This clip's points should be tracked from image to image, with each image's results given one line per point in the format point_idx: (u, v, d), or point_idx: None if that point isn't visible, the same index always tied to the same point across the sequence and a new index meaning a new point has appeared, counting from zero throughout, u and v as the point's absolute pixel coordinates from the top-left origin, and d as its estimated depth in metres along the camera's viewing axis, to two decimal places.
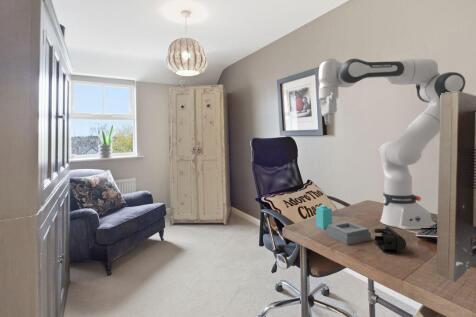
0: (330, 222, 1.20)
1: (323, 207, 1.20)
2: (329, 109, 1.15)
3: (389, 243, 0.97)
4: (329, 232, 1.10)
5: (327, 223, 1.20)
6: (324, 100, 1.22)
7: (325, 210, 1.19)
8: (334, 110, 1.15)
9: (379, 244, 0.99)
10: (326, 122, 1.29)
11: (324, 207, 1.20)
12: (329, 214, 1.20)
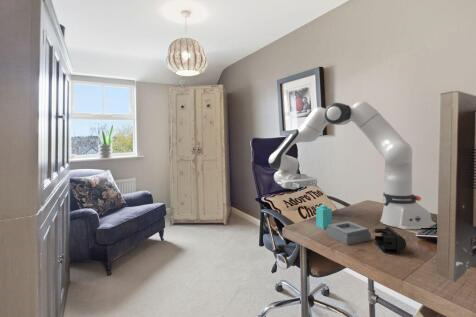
0: (330, 222, 1.20)
1: (323, 207, 1.20)
2: (284, 187, 1.34)
3: (389, 243, 0.97)
4: (329, 232, 1.10)
5: (327, 223, 1.20)
6: None
7: (325, 210, 1.19)
8: (285, 183, 1.34)
9: (379, 244, 0.99)
10: (312, 185, 1.35)
11: (324, 207, 1.20)
12: (329, 214, 1.20)
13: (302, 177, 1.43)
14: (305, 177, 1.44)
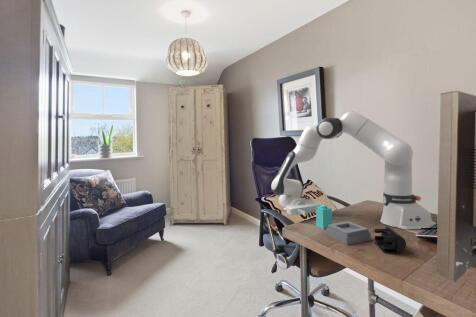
0: (330, 222, 1.20)
1: (323, 207, 1.20)
2: (289, 214, 1.32)
3: (389, 243, 0.97)
4: (329, 232, 1.10)
5: (327, 223, 1.20)
6: None
7: (325, 210, 1.19)
8: (290, 210, 1.31)
9: (379, 244, 0.99)
10: None
11: (324, 207, 1.20)
12: (329, 214, 1.20)
13: (308, 202, 1.41)
14: (311, 202, 1.41)
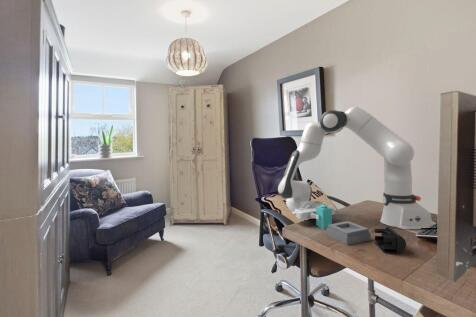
0: (330, 222, 1.20)
1: (323, 207, 1.20)
2: (299, 218, 1.23)
3: (389, 243, 0.97)
4: (329, 232, 1.10)
5: (327, 223, 1.20)
6: None
7: (325, 210, 1.19)
8: (300, 214, 1.23)
9: (379, 244, 0.99)
10: None
11: (324, 207, 1.20)
12: (329, 214, 1.20)
13: (318, 205, 1.32)
14: None
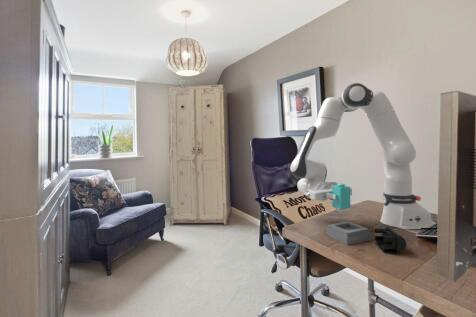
0: (348, 202, 1.09)
1: (340, 186, 1.09)
2: (314, 199, 1.12)
3: (389, 243, 0.97)
4: (329, 232, 1.10)
5: (345, 203, 1.08)
6: None
7: (342, 189, 1.07)
8: (315, 194, 1.11)
9: (379, 244, 0.99)
10: None
11: (341, 186, 1.09)
12: (347, 193, 1.08)
13: None
14: None
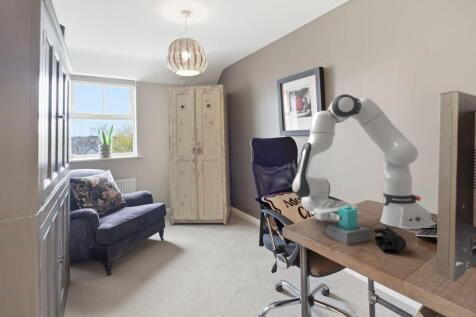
0: (355, 225, 1.06)
1: (347, 208, 1.06)
2: (319, 219, 1.09)
3: (389, 243, 0.97)
4: (329, 232, 1.10)
5: (352, 226, 1.05)
6: None
7: (349, 212, 1.05)
8: (320, 214, 1.08)
9: (379, 244, 0.99)
10: None
11: (348, 208, 1.06)
12: (354, 216, 1.06)
13: (339, 204, 1.18)
14: (342, 204, 1.18)
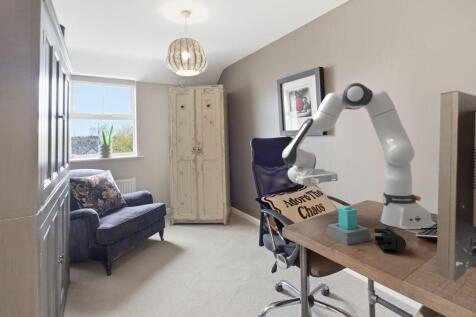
0: (355, 225, 1.06)
1: (347, 208, 1.06)
2: (302, 183, 1.20)
3: (389, 243, 0.97)
4: (329, 232, 1.10)
5: (352, 226, 1.05)
6: None
7: (349, 212, 1.05)
8: (302, 179, 1.19)
9: (379, 244, 0.99)
10: (333, 180, 1.20)
11: (348, 208, 1.06)
12: (354, 216, 1.06)
13: (320, 172, 1.29)
14: (323, 172, 1.30)
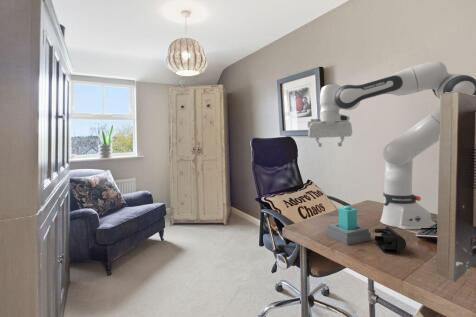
0: (355, 225, 1.06)
1: (347, 208, 1.06)
2: None
3: (389, 243, 0.97)
4: (329, 232, 1.10)
5: (352, 226, 1.05)
6: None
7: (349, 212, 1.05)
8: (309, 136, 1.28)
9: (379, 244, 0.99)
10: (338, 144, 1.27)
11: (348, 208, 1.06)
12: (354, 216, 1.06)
13: (339, 124, 1.24)
14: (343, 124, 1.24)
